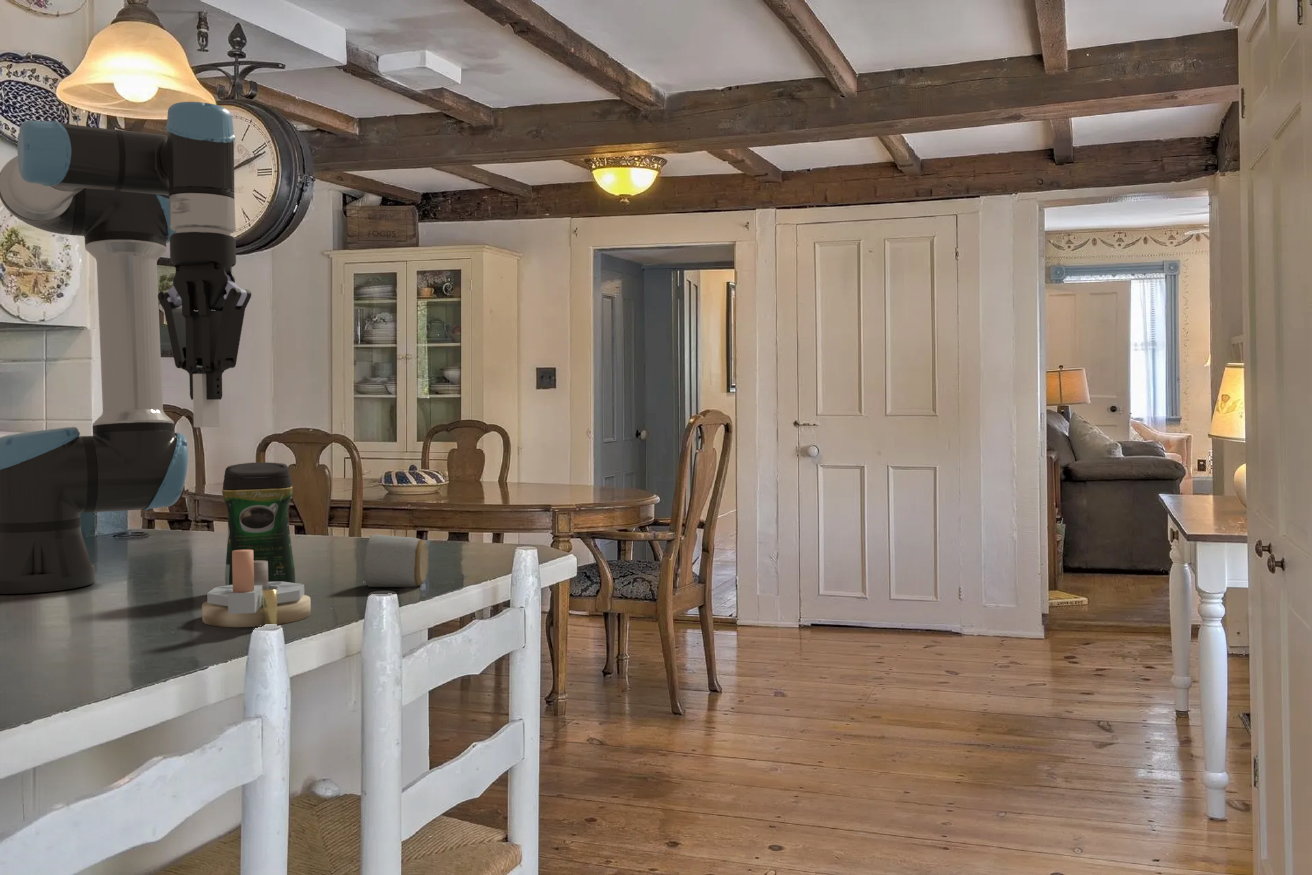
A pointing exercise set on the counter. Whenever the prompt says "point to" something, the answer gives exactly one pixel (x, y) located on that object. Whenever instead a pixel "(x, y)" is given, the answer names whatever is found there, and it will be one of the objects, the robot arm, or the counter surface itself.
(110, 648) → the counter surface
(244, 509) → the coffee jar
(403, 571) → the ceramic mug
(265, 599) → the dowel pin
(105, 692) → the counter surface
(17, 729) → the counter surface
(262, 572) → the pedestal
